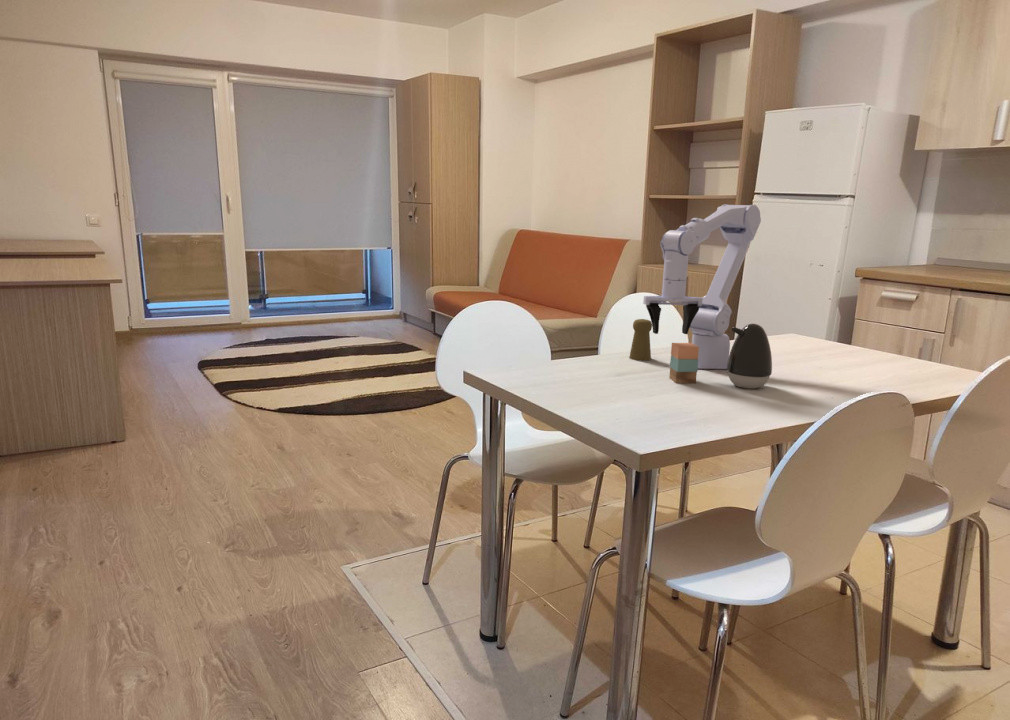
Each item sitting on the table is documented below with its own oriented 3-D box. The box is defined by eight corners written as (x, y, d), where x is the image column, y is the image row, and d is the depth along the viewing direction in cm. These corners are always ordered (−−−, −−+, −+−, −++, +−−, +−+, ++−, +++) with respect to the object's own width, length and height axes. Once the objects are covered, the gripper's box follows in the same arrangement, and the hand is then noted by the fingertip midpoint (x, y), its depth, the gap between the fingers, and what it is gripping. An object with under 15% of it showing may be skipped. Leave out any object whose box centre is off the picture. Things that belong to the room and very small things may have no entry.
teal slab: (689, 366, 172) (690, 355, 171) (697, 371, 167) (698, 359, 167) (669, 367, 171) (670, 355, 171) (677, 371, 166) (678, 359, 166)
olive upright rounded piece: (652, 361, 191) (655, 321, 189) (630, 360, 191) (633, 320, 189) (648, 356, 197) (651, 318, 195) (627, 355, 197) (630, 317, 195)
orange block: (690, 354, 172) (691, 342, 171) (697, 359, 167) (698, 347, 166) (670, 354, 171) (671, 342, 171) (677, 359, 166) (678, 346, 166)
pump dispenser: (717, 381, 171) (723, 320, 167) (757, 380, 172) (763, 320, 169) (735, 391, 161) (742, 327, 157) (777, 391, 162) (785, 327, 159)
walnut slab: (688, 378, 173) (689, 366, 172) (695, 383, 168) (696, 371, 167) (669, 378, 172) (670, 366, 172) (675, 383, 167) (676, 371, 167)
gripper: (651, 280, 167) (646, 335, 170) (709, 281, 169) (703, 336, 172) (642, 277, 174) (638, 330, 177) (698, 278, 176) (693, 331, 179)
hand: (670, 333), depth 175 cm, fingers open, 7 cm apart
